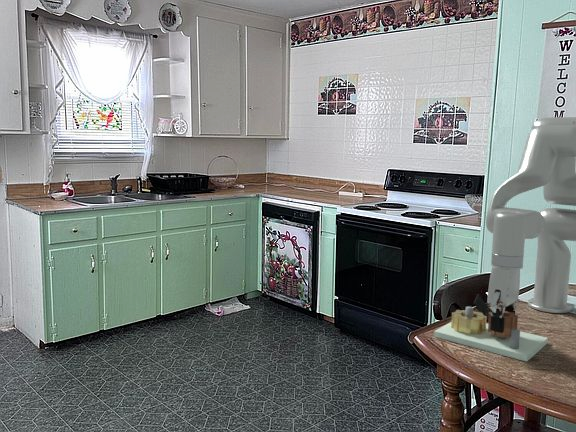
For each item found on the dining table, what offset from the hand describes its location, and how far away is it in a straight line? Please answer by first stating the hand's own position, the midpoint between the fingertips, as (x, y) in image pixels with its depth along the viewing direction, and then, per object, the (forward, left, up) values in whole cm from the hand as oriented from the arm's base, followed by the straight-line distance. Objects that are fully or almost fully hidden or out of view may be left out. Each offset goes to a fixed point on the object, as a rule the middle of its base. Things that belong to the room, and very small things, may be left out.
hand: (502, 327), depth 140 cm
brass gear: (0, -9, -3) cm, 9 cm away
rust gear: (0, 0, -2) cm, 2 cm away
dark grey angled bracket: (-19, -10, -5) cm, 22 cm away
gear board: (0, -3, -4) cm, 5 cm away
